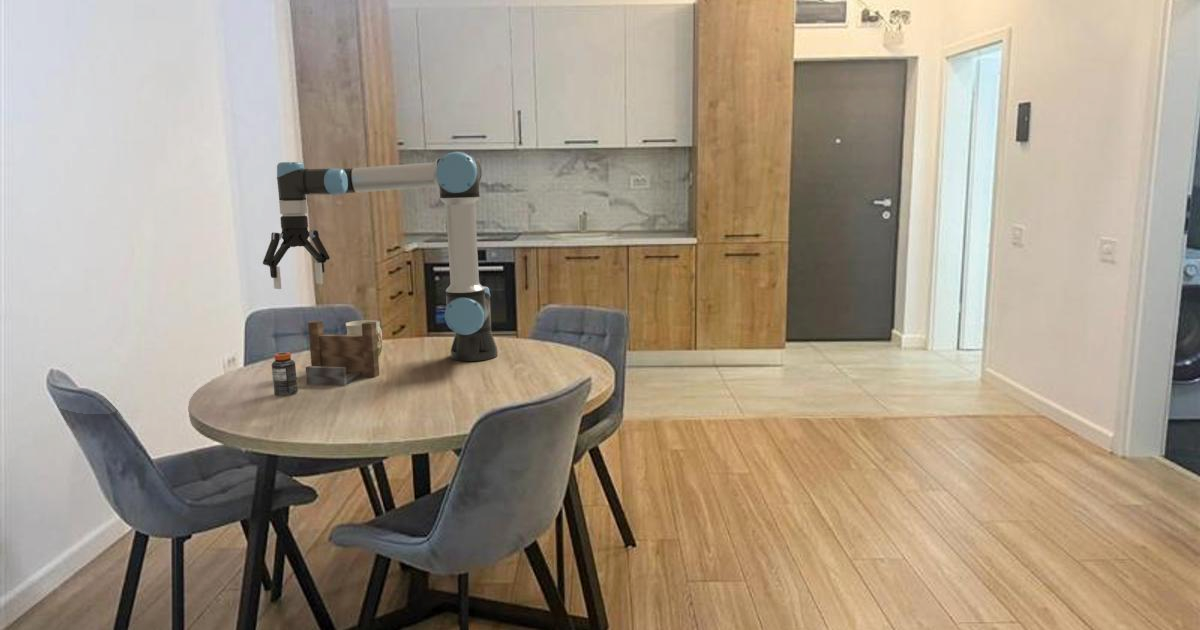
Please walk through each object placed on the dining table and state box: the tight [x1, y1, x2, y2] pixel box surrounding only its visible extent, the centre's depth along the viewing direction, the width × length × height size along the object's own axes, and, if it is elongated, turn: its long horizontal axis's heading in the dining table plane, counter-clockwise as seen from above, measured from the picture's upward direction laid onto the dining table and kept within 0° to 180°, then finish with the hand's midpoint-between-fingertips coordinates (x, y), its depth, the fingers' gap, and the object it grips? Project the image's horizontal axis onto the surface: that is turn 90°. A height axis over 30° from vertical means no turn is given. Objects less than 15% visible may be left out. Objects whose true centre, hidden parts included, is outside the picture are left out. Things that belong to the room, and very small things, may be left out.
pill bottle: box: [271, 351, 299, 397], centre depth 211 cm, size 6×6×11 cm
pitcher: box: [344, 319, 383, 360], centre depth 246 cm, size 11×18×14 cm, turn 164°
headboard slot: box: [305, 320, 380, 387], centre depth 226 cm, size 20×13×16 cm, turn 80°
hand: (299, 286), depth 235 cm, fingers open, 13 cm apart
